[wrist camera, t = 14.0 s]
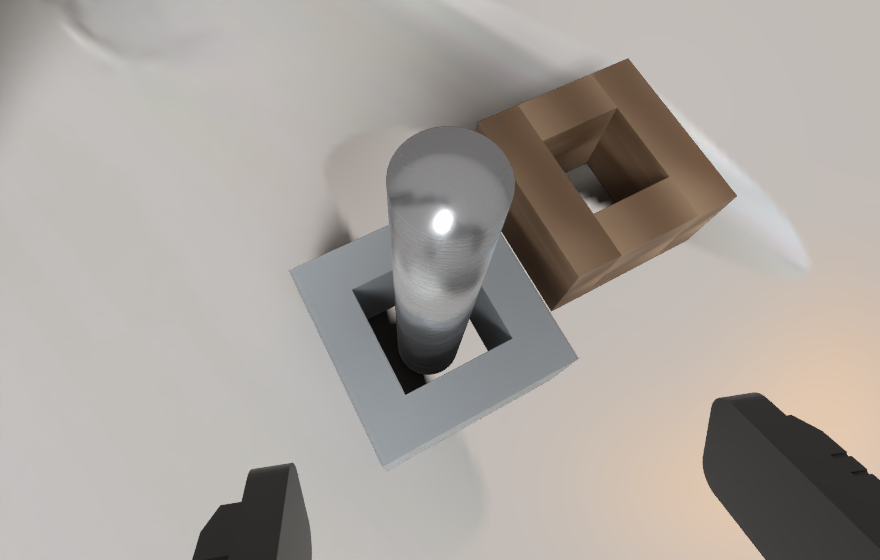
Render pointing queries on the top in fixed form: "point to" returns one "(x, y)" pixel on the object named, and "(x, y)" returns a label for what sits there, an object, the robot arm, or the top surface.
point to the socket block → (455, 393)
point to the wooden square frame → (618, 169)
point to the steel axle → (443, 236)
